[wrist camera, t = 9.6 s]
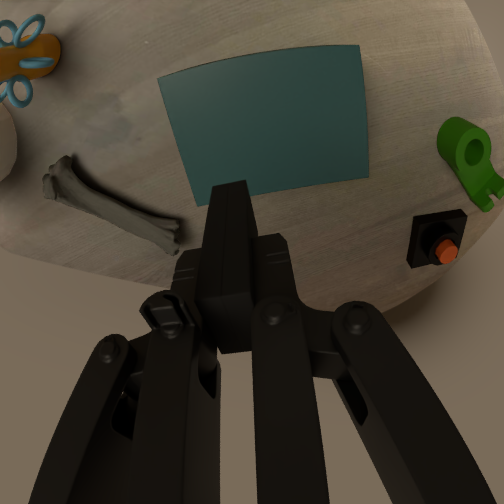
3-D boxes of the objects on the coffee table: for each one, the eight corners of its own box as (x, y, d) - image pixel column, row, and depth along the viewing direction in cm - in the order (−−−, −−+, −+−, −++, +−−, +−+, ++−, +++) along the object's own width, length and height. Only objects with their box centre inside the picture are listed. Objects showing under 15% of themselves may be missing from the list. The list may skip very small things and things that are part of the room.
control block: (460, 208, 39) (473, 222, 36) (450, 250, 45) (461, 264, 42) (413, 216, 40) (425, 231, 37) (406, 260, 46) (415, 276, 43)
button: (454, 237, 38) (460, 244, 37) (450, 254, 41) (454, 261, 39) (437, 241, 39) (442, 248, 37) (433, 258, 41) (438, 265, 40)
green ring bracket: (428, 139, 32) (447, 152, 29) (458, 107, 29) (478, 116, 25) (469, 200, 38) (484, 216, 34) (493, 173, 35) (510, 187, 31)
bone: (50, 181, 34) (28, 203, 29) (61, 144, 31) (36, 162, 26) (176, 248, 43) (168, 277, 38) (197, 217, 39) (191, 245, 35)
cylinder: (86, 77, 26) (6, 106, 14) (29, 110, 27) (-47, 154, 15) (67, -3, 18) (-16, -7, 7) (9, 38, 19) (-72, 59, 8)
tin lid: (198, 202, 28) (197, 206, 27) (159, 77, 20) (156, 78, 20) (365, 174, 26) (368, 177, 26) (356, 44, 19) (359, 44, 18)
